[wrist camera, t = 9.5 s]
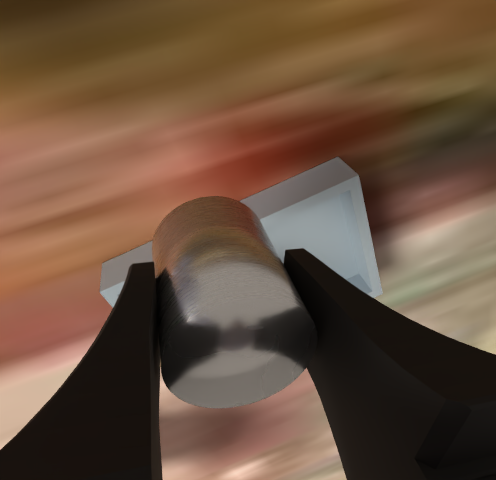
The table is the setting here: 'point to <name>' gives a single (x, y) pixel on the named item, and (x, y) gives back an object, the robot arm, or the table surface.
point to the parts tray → (297, 227)
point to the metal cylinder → (226, 307)
